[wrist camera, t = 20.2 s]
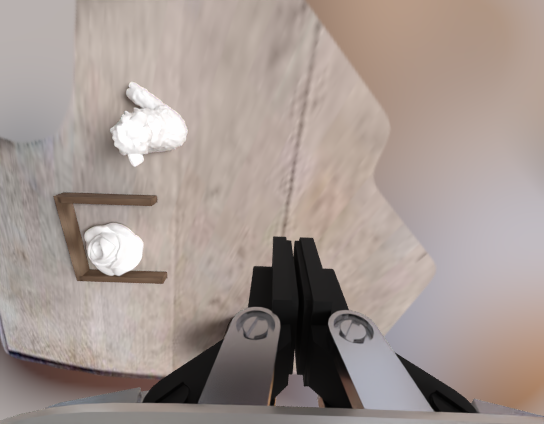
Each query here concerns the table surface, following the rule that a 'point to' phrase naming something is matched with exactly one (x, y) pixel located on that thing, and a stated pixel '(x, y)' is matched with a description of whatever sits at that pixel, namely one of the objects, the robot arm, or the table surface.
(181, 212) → the table surface
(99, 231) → the rose
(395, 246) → the table surface
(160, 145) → the seated beast figurine
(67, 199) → the walnut bay
